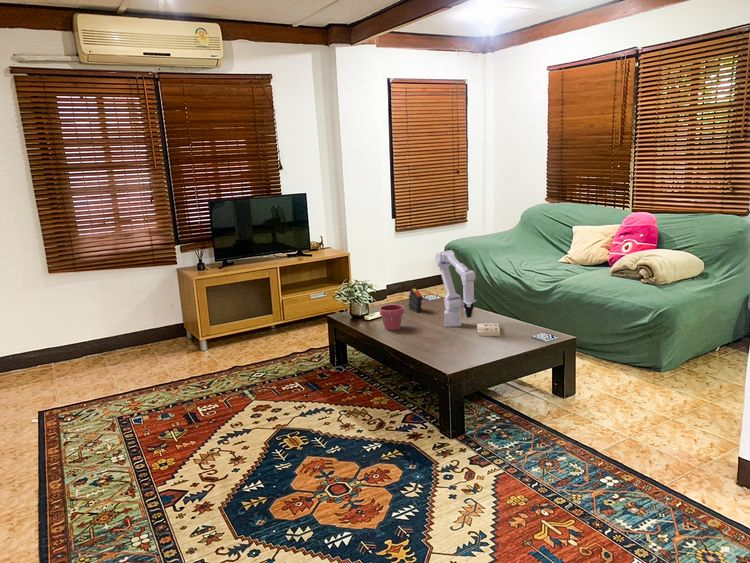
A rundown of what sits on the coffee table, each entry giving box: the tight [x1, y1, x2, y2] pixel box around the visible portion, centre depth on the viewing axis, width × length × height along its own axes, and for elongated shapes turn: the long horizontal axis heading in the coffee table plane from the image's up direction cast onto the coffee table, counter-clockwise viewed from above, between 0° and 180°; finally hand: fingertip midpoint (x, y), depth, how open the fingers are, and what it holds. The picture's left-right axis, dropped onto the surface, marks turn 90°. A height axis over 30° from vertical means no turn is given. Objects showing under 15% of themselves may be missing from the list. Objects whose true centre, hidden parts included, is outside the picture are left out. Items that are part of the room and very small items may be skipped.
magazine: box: [408, 286, 424, 313], centre depth 366 cm, size 4×13×15 cm, turn 24°
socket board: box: [476, 322, 501, 337], centre depth 318 cm, size 12×15×3 cm
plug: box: [463, 307, 475, 323], centre depth 318 cm, size 6×4×7 cm
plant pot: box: [379, 304, 405, 331], centre depth 332 cm, size 14×14×13 cm
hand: (468, 316), depth 318 cm, fingers closed on plug, 4 cm apart
